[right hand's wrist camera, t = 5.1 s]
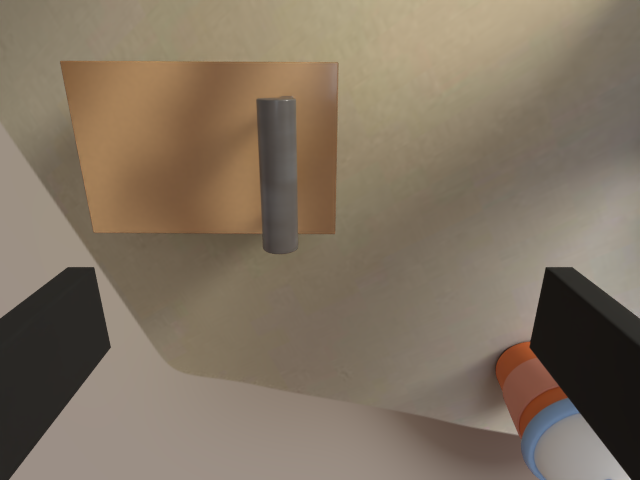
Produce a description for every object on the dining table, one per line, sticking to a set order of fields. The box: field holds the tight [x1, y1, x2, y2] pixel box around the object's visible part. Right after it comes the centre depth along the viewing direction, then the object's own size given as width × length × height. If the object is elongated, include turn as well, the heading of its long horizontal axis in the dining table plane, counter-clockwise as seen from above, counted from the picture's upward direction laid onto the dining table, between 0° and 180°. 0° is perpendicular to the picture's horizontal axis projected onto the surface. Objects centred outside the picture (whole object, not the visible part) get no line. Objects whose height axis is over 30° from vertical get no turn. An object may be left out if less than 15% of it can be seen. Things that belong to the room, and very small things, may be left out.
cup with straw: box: [496, 342, 631, 480], centre depth 36 cm, size 9×9×18 cm
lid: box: [60, 61, 338, 254], centre depth 22 cm, size 15×10×8 cm, turn 90°
